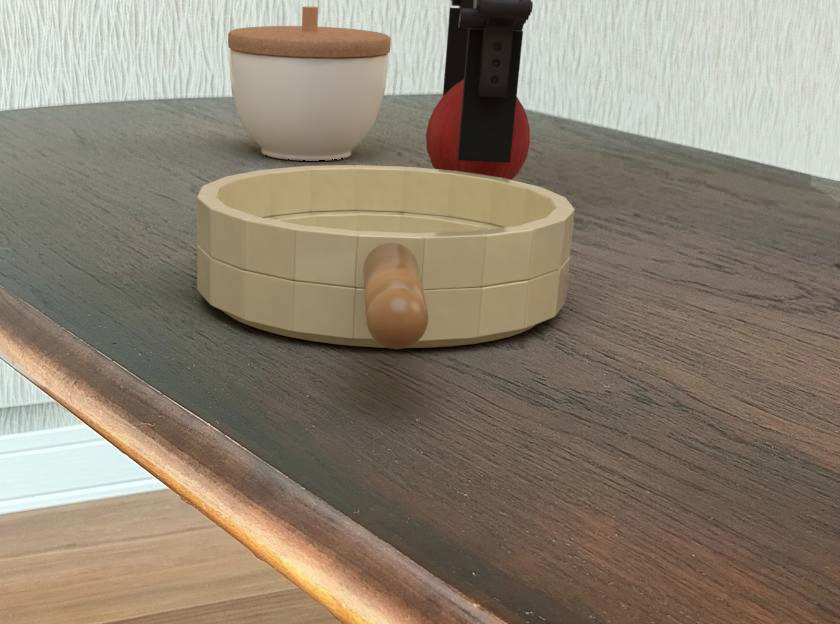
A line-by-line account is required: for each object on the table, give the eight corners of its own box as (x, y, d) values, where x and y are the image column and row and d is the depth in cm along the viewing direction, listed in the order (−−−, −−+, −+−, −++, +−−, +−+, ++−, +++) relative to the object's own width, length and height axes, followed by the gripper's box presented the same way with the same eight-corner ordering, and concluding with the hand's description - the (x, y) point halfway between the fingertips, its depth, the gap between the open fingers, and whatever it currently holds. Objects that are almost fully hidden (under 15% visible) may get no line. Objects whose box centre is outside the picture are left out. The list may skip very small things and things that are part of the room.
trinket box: (258, 137, 104) (260, -2, 101) (402, 148, 101) (410, 6, 98) (203, 159, 95) (203, 7, 91) (360, 172, 92) (367, 16, 88)
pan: (537, 265, 70) (546, 170, 68) (588, 360, 55) (601, 243, 54) (213, 255, 70) (214, 160, 68) (181, 346, 56) (180, 229, 54)
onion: (494, 192, 87) (505, 53, 84) (542, 211, 82) (556, 63, 79) (406, 196, 85) (414, 53, 82) (450, 216, 80) (461, 64, 77)
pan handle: (414, 291, 54) (418, 238, 53) (427, 357, 46) (432, 296, 46) (361, 289, 54) (364, 236, 53) (365, 355, 46) (368, 294, 46)
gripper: (423, -268, 85) (398, 106, 94) (454, -325, 62) (417, 176, 71) (551, -262, 85) (514, 111, 94) (628, -317, 62) (570, 183, 71)
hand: (472, 140), depth 82 cm, fingers open, 13 cm apart
